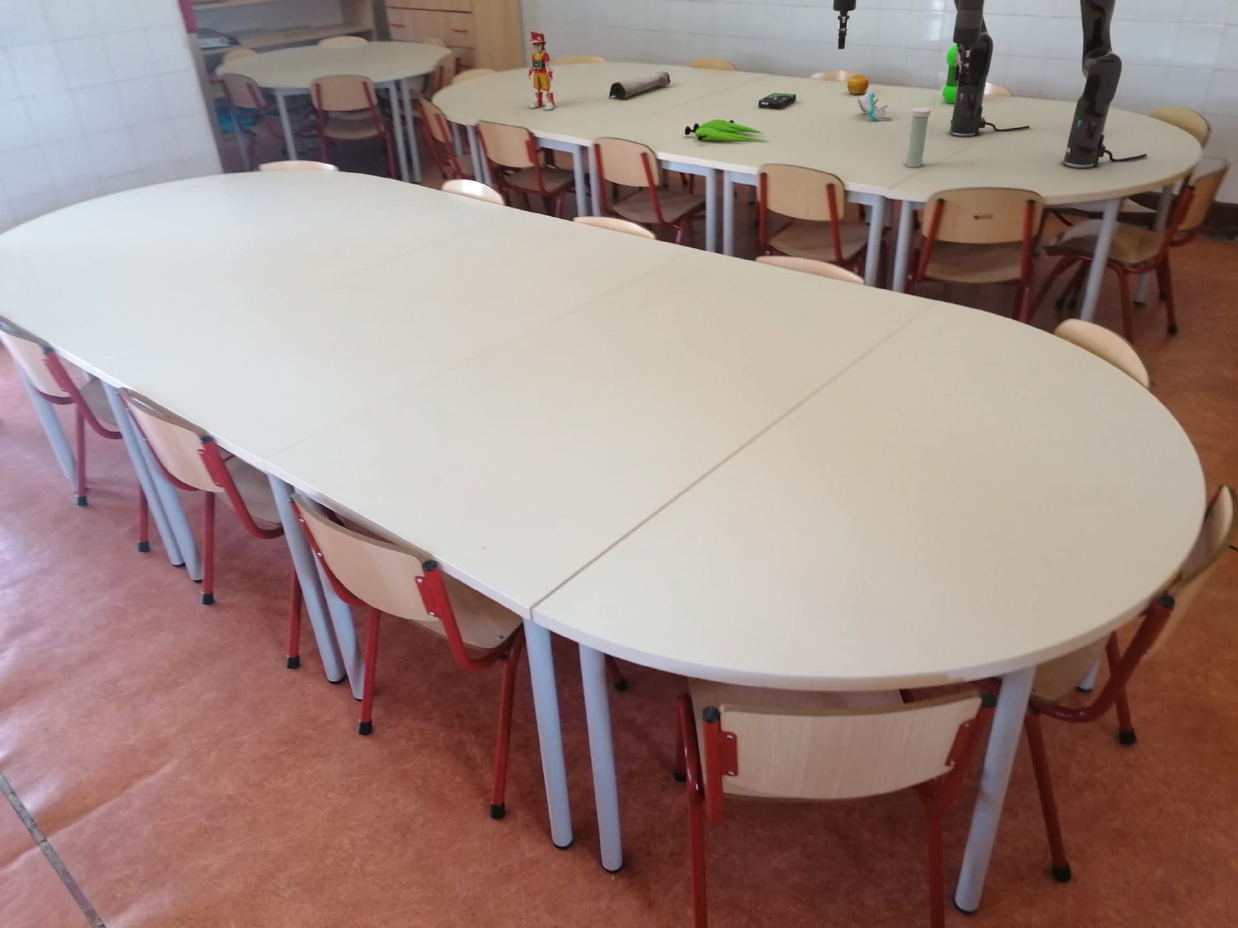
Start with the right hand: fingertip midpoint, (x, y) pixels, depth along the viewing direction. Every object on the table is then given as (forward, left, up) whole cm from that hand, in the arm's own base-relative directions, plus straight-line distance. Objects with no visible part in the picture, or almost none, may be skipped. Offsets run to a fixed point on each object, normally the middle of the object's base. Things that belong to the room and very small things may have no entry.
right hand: (959, 83), depth 274 cm
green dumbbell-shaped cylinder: (-14, -85, -26) cm, 90 cm away
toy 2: (+72, -37, -26) cm, 85 cm away
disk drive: (+55, -85, -26) cm, 105 cm away
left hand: (+34, -42, +4) cm, 54 cm away
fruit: (+23, -102, -26) cm, 108 cm away
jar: (+10, -3, -26) cm, 28 cm away
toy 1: (+154, -86, -26) cm, 179 cm away
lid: (+10, -3, -9) cm, 13 cm away
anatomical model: (+19, -64, -26) cm, 72 cm away
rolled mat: (+116, -112, -26) cm, 163 cm away
